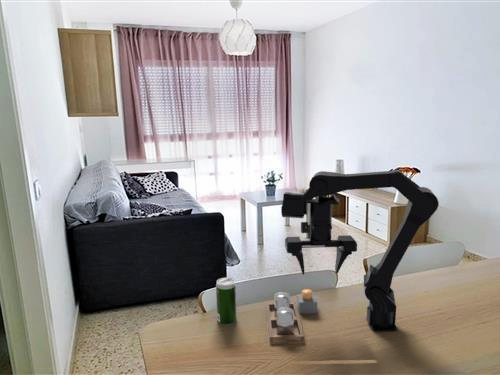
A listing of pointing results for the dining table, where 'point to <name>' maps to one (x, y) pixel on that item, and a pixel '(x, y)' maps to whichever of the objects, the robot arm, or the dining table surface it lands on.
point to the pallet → (272, 327)
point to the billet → (285, 321)
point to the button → (307, 294)
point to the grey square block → (306, 304)
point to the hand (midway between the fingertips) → (319, 273)
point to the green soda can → (226, 301)
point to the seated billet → (281, 301)
